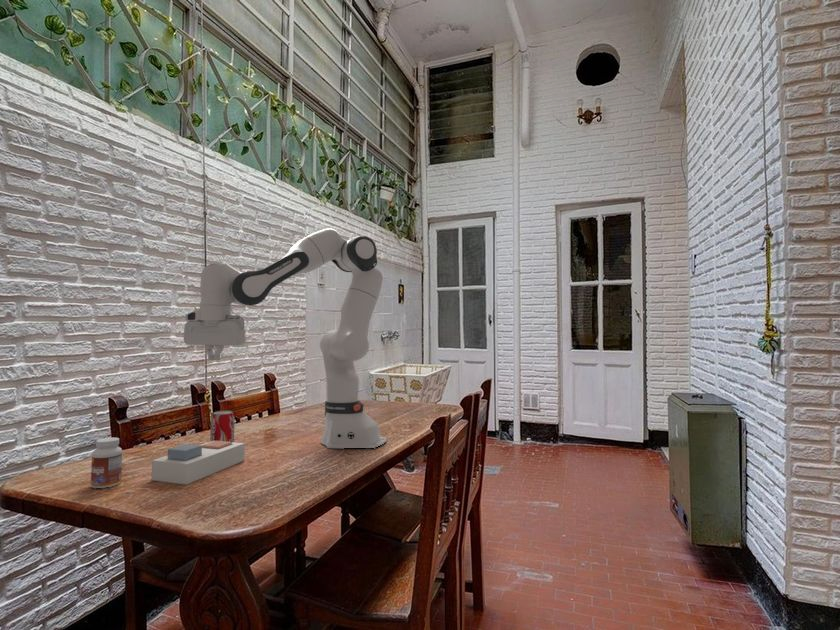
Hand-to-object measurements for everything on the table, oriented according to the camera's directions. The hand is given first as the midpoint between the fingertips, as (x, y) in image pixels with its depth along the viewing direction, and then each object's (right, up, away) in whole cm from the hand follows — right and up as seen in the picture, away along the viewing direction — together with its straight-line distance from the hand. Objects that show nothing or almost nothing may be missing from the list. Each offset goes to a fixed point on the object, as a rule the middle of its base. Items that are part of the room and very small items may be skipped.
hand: (214, 360), depth 137 cm
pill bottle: (-14, -28, -27) cm, 42 cm away
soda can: (0, -30, +6) cm, 30 cm away
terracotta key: (+5, -27, -9) cm, 29 cm away
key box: (+3, -29, -15) cm, 32 cm away
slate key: (+2, -25, -20) cm, 32 cm away
